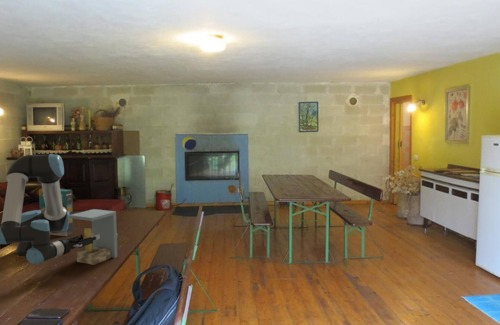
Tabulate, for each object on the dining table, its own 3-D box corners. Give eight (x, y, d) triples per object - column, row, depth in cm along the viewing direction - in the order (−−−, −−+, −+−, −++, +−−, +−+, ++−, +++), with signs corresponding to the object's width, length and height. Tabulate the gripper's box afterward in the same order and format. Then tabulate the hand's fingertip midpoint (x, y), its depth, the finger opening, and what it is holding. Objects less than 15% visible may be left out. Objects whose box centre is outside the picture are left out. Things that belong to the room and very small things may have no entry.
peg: (83, 251, 207) (82, 228, 206) (88, 249, 211) (88, 227, 210) (88, 251, 206) (87, 229, 205) (93, 249, 209) (93, 227, 208)
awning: (71, 262, 209) (69, 215, 206) (95, 253, 224) (94, 209, 222) (93, 266, 202) (92, 218, 200) (117, 256, 218) (116, 211, 215)
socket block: (77, 261, 210) (76, 252, 209) (94, 255, 221) (93, 246, 220) (93, 264, 205) (93, 255, 204) (110, 257, 216) (110, 249, 215)
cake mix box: (40, 233, 265) (38, 189, 263) (47, 231, 271) (46, 188, 268) (67, 236, 259) (65, 191, 256) (73, 233, 265) (72, 189, 262)
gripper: (47, 253, 195) (85, 240, 217) (72, 257, 188) (108, 244, 210) (47, 238, 195) (84, 227, 216) (71, 242, 188) (107, 230, 209)
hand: (96, 235), depth 213 cm, fingers closed on peg, 3 cm apart
